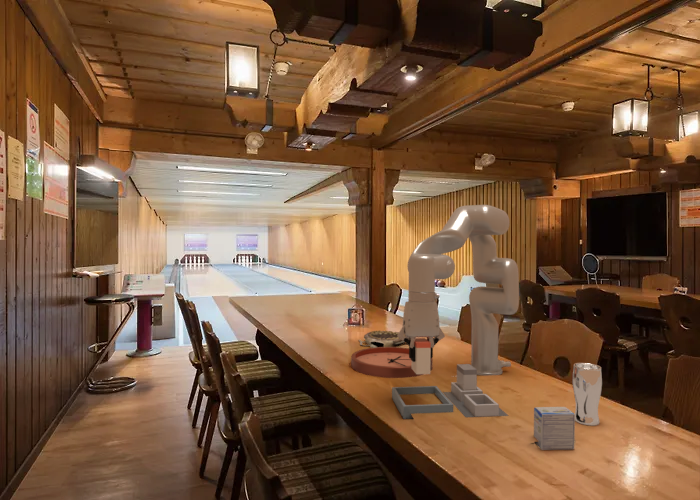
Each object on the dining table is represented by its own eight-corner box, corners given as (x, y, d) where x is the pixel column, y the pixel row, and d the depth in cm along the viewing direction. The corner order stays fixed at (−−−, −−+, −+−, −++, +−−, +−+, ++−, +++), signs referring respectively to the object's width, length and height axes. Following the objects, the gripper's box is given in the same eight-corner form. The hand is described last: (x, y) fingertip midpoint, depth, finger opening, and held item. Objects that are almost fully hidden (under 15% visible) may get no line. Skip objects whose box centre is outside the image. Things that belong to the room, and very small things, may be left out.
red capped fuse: (424, 368, 133) (425, 338, 133) (430, 374, 127) (430, 342, 127) (411, 368, 132) (411, 338, 132) (416, 374, 126) (416, 342, 126)
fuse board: (479, 395, 140) (479, 381, 140) (508, 421, 120) (508, 404, 120) (442, 396, 139) (442, 382, 139) (465, 422, 119) (465, 406, 119)
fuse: (469, 392, 138) (469, 364, 138) (476, 399, 132) (476, 369, 132) (456, 393, 138) (456, 364, 138) (463, 400, 132) (463, 369, 132)
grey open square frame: (436, 397, 139) (436, 385, 139) (453, 417, 123) (453, 404, 123) (391, 398, 137) (391, 387, 137) (403, 419, 121) (403, 406, 121)
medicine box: (565, 441, 108) (565, 406, 108) (575, 450, 104) (575, 413, 103) (533, 442, 108) (533, 406, 108) (541, 450, 103) (542, 413, 103)
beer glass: (575, 414, 125) (576, 361, 125) (603, 420, 121) (604, 365, 121) (569, 421, 120) (570, 366, 120) (598, 428, 115) (599, 371, 115)
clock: (351, 346, 189) (424, 346, 189) (351, 356, 189) (424, 356, 190) (351, 367, 158) (440, 367, 158) (351, 378, 158) (440, 379, 158)
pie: (358, 337, 227) (358, 327, 227) (412, 338, 226) (412, 328, 226) (358, 350, 199) (358, 339, 199) (419, 352, 198) (419, 340, 198)
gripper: (445, 296, 134) (444, 356, 134) (390, 296, 132) (389, 357, 132) (453, 299, 126) (452, 363, 127) (395, 299, 125) (395, 364, 125)
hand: (420, 359), depth 130 cm, fingers closed on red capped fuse, 4 cm apart
